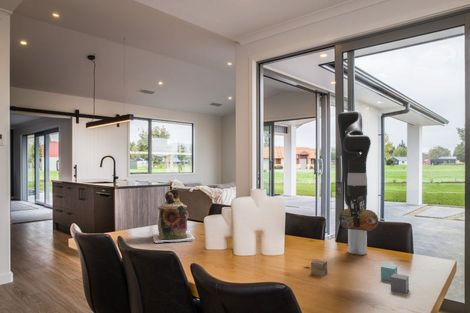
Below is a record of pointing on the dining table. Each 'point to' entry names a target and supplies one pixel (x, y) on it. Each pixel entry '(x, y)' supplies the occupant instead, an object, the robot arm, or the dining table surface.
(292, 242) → the dining table surface
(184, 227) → the cookie jar
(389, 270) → the slate-teal cube
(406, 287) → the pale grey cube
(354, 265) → the dining table surface
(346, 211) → the tin
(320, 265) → the brownish grey cube
